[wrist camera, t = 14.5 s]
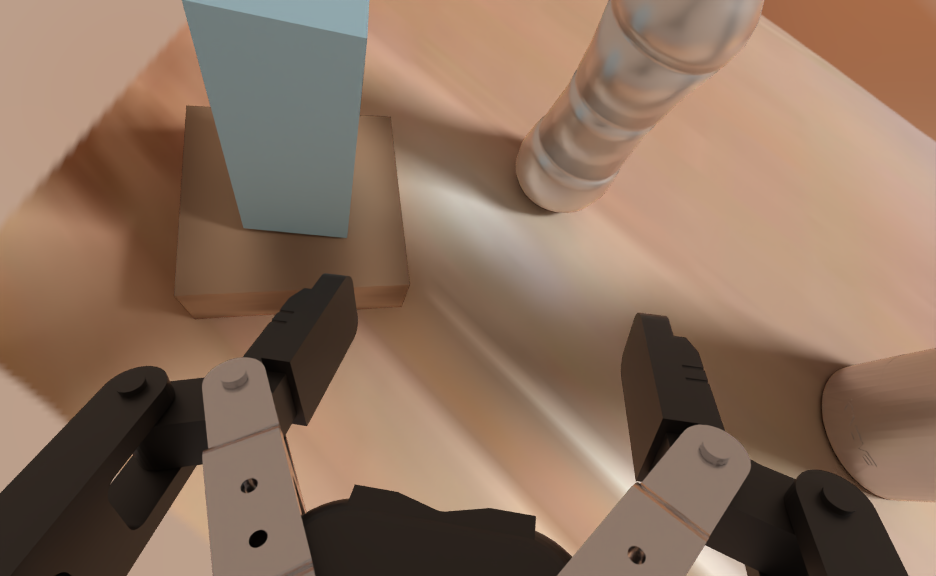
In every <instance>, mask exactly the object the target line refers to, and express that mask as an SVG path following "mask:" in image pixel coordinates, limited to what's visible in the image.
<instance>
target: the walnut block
mask: <svg viewBox="0 0 936 576" xmlns="http://www.w3.org/2000/svg"><path fill="white" fill-rule="evenodd" d="M324 273H328V274H337V275H345V276H350V277H351V278H352V280H353V286H354V293H355V301H356V308H357V309H369V308H385V307H401V306H402V304H403V301H404V299H405V296H406V293H407V291H408V288H409V285H410V282H409V274H408V265H407V256H406V248H405V239H404V230H403V222H402V213H401V204H400V196H399V187H398V178H397V169H396V161H395V152H394V143H393V135H392V126H391V117H385V116H367V115H359V125H358V135H357V145H356V155H355V165H354V175H353V185H352V194H351V204H350V214H349V224H348V234H347V238H341V237H330V236H320V235H310V234H299V233H289V232H278V231H268V230H257V229H247V228H243V225H242V221H241V217H240V213H239V210H238V206H237V202H236V199H235V195H234V191H233V188H232V184H231V180H230V176H229V173H228V169H227V165H226V162H225V158H224V154H223V151H222V147H221V143H220V139H219V136H218V132H217V128H216V125H215V121H214V117H213V114H212V110H211V107H203V106H186V119H185V135H184V150H183V166H182V181H181V197H180V212H179V227H178V243H177V258H176V274H175V289H174V296H175V298H176V299H177V300H178V301H179V302H180V303H181V304H182V305H183V306H184V308H185V309H186V310H187V311H188V312H189V313H190V314H191V315H192V316H193V318H194V319H203V318H220V317H236V316H253V315H270V314H277V313H278V312H280V309H281V307H282V306H283V305H284V304H285V302H286V301H287V300H288V299H289V297H291V296H293V295H294V294H296V293H297V292H299V291H300V290H302V289H303V288H309V289H312V287H313V286H314V285H315V283H316V282H317V281H318V279H319V278H320V277H321V275H322V274H324Z"/></svg>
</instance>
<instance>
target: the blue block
mask: <svg viewBox="0 0 936 576" xmlns="http://www.w3.org/2000/svg"><path fill="white" fill-rule="evenodd" d="M182 2H183V6H184V10H185V14H186V17H187V21H188V25H189V29H190V32H191V36H192V40H193V43H194V47H195V51H196V54H197V58H198V62H199V66H200V69H201V73H202V77H203V80H204V84H205V88H206V91H207V95H208V99H209V103H210V106H211V110H212V114H213V117H214V121H215V125H216V128H217V132H218V136H219V139H220V143H221V147H222V151H223V154H224V158H225V162H226V165H227V169H228V173H229V176H230V180H231V184H232V188H233V191H234V195H235V199H236V202H237V206H238V210H239V213H240V217H241V221H242V225H243V228H247V229H257V230H268V231H278V232H289V233H299V234H310V235H320V236H330V237H341V238H347V234H348V224H349V214H350V204H351V194H352V185H353V175H354V165H355V155H356V145H357V135H358V125H359V115H360V105H361V95H362V85H363V75H364V65H365V55H366V45H367V32H368V14H369V0H182Z"/></svg>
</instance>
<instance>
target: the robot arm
mask: <svg viewBox="0 0 936 576" xmlns="http://www.w3.org/2000/svg"><path fill="white" fill-rule="evenodd" d="M357 325H358V315H357V308H356V301H355V293H354V286H353V280H352V278H351V277H350V276H345V275H337V274H328V273H324V274H322V275H321V277H320V278H319V279H318V281H317V282H316V283H315V285H314V286H313V287H312V289H309V288H303V289H302V290H300V291H299V292H297V293H296V294H294V295H293V296H291V297H289V299H288V300H287V301H286V302H285V304H284V305H283V306H282V307H281V309H280V312H278V313H277V314H276V315H275V316H274V318H273V319H272V322H270V323H269V324H268V325H267V327H266V328H265V329H264V330H263V332H262V333H261V334H260V336H259V337H258V338H257V339H256V341H255V342H254V343H253V345H252V346H251V347H250V348H249V350H248V351H247V352H246V353H245V355H244V356H243V357H241V358H235V359H231V360H228V361H225V362H223V363H221V364H219V365H217V366H216V367H214V368H213V369H212V370H211V371H210V372H209V373H208V374H207V375H206V376H205V378H197V379H188V380H178V381H170V380H169V378H168V376H167V374H166V372H165V371H164V370H162V369H161V368H158V367H154V366H143V367H137V368H133V369H130V370H128V371H125V372H123V373H121V374H119V375H117V376H115V377H114V378H112V379H111V380H110V381H108V382H107V383H106V384H105V385H104V386H103V387H102V388H101V389H100V390H99V391H98V392H97V393H96V394H95V396H94V397H93V398H92V399H91V400H90V401H89V402H88V403H87V404H86V405H85V406H84V407H83V408H82V409H81V410H80V411H79V412H78V413H77V414H76V415H75V416H74V417H73V418H72V419H71V420H70V421H69V422H68V424H67V425H66V426H65V427H64V428H63V429H62V430H61V431H60V432H59V433H58V434H57V435H56V436H55V437H54V438H53V439H52V440H51V441H50V442H49V443H48V444H47V445H46V446H45V447H44V448H43V449H42V450H41V452H40V453H39V454H38V455H37V456H36V457H35V458H34V459H33V460H32V461H31V462H30V463H29V464H28V465H27V466H26V467H25V468H24V469H23V470H22V471H21V472H20V473H19V475H17V477H15V478H14V480H13V481H12V482H11V483H10V484H9V485H8V486H7V487H6V488H5V489H4V490H3V491H2V492H1V493H0V576H127V574H128V572H129V571H130V569H131V568H132V566H133V564H134V563H135V562H136V560H137V558H138V557H139V555H140V554H141V552H142V551H143V549H144V547H145V546H146V544H147V542H148V541H149V540H150V538H151V536H152V535H153V533H154V532H155V530H156V529H157V527H158V525H159V524H160V522H161V521H162V519H163V518H164V516H165V514H166V513H167V511H168V510H169V508H170V507H171V505H172V503H173V502H174V500H175V499H176V497H177V496H178V494H179V492H180V491H181V489H182V488H183V486H184V485H185V483H186V481H187V480H188V478H189V477H190V475H191V474H192V472H193V470H194V469H195V467H196V466H197V465H201V464H203V472H204V483H205V494H206V505H207V516H208V527H209V539H210V549H211V560H212V572H213V576H686V574H687V573H688V571H689V570H690V568H691V566H692V565H693V563H694V562H695V560H696V558H697V557H698V555H699V554H700V552H701V550H702V549H703V547H704V546H705V545H706V546H708V547H710V548H712V549H714V550H716V551H718V552H720V553H722V554H725V555H727V556H729V557H731V558H733V559H735V560H737V561H739V562H741V563H743V564H745V567H746V571H747V575H748V576H908V574H907V572H906V570H905V568H904V566H903V564H902V562H901V560H900V558H899V556H898V554H897V552H896V549H895V547H894V545H893V543H892V541H891V539H890V537H889V535H888V533H887V531H886V529H885V527H884V525H883V523H882V521H881V519H880V517H879V515H878V513H877V511H876V509H875V508H874V506H873V504H872V503H871V502H870V500H869V499H868V498H867V497H866V496H865V495H864V494H863V492H861V491H860V490H859V489H858V488H857V487H856V486H854V485H853V484H851V483H850V482H848V481H847V480H845V479H843V478H842V477H839V476H837V475H835V474H833V473H830V472H826V471H822V470H808V471H805V472H802V473H801V474H800V475H799V476H798V477H797V478H796V479H793V478H791V477H789V476H786V475H784V474H781V473H779V472H776V471H774V470H772V469H769V468H767V467H764V466H762V465H760V464H758V463H756V462H754V461H753V460H751V459H750V458H749V455H748V453H747V451H746V450H745V448H744V447H743V445H742V444H741V443H740V442H739V441H738V440H737V439H735V438H734V437H733V436H732V435H730V434H729V433H727V432H725V430H724V427H723V424H722V421H721V418H720V415H719V412H718V409H717V406H716V403H715V400H714V397H713V394H712V391H711V388H710V385H709V384H708V383H707V382H708V379H707V377H706V374H705V371H703V365H702V362H701V359H700V356H699V353H698V351H697V350H696V349H695V348H694V347H693V346H692V344H691V343H690V342H689V341H688V340H687V339H686V338H684V337H677V336H673V333H672V329H671V326H670V323H669V319H668V317H667V316H661V315H653V314H644V313H637V314H636V316H635V318H634V321H633V324H632V327H631V331H630V334H629V337H628V340H627V343H626V346H625V350H624V353H623V357H622V363H621V378H622V385H623V392H624V400H625V407H626V414H627V421H628V428H629V435H630V443H631V450H632V457H633V464H634V471H635V479H636V481H640V482H641V483H640V484H639V483H638V482H637V483H635V484H634V485H633V486H632V487H631V488H630V489H629V490H628V491H627V493H626V494H625V495H624V496H623V497H622V499H621V500H620V501H619V502H618V503H617V505H616V506H615V507H614V508H613V509H612V511H611V512H610V513H609V514H608V515H607V517H606V518H605V519H604V520H603V521H602V523H601V524H600V525H599V526H598V527H597V529H596V530H595V531H594V532H593V533H592V534H591V536H590V537H589V538H588V539H587V540H586V542H585V543H584V544H583V545H582V546H581V548H580V549H579V550H578V551H577V552H576V554H575V555H574V556H573V557H572V556H571V555H570V554H569V553H568V552H567V551H566V550H565V549H563V548H562V547H561V546H560V545H558V544H557V543H556V542H555V541H553V540H551V539H550V538H548V537H547V536H545V535H543V534H541V533H539V532H537V531H535V523H536V516H532V515H526V514H520V513H515V512H509V511H503V510H498V509H492V508H486V509H473V510H461V511H448V512H442V511H438V510H435V509H433V508H431V507H429V506H427V505H424V504H422V503H420V502H418V501H416V500H414V499H412V498H409V497H407V496H405V495H403V494H401V493H399V492H394V491H389V490H383V489H377V488H372V487H366V486H360V485H355V486H354V488H353V491H352V493H351V496H350V498H349V499H342V500H337V501H332V502H329V503H326V504H323V505H321V506H318V507H316V508H314V509H312V510H310V511H308V512H307V511H306V508H305V505H304V501H303V497H302V494H301V490H300V486H299V482H298V479H297V475H296V471H295V467H294V463H293V459H292V456H291V452H290V448H289V444H288V440H287V437H286V433H287V431H288V430H289V428H290V426H291V424H297V425H303V426H307V425H308V423H309V421H310V420H311V418H312V416H313V414H314V412H315V410H316V408H317V407H318V405H319V403H320V401H321V399H322V397H323V395H324V393H325V392H326V390H327V388H328V386H329V384H330V382H331V380H332V378H333V377H334V375H335V373H336V371H337V369H338V367H339V365H340V364H341V362H342V360H343V358H344V356H345V354H346V352H347V350H348V349H349V347H350V345H351V343H352V341H353V339H354V337H355V334H356V331H357ZM822 414H823V422H824V426H825V429H826V433H827V436H828V439H829V441H830V443H831V446H832V448H833V450H834V452H835V454H836V455H837V457H838V459H839V460H840V462H841V464H842V465H843V466H844V467H845V469H846V470H847V471H848V472H849V474H850V475H851V476H852V477H853V478H854V479H855V480H856V481H857V482H858V483H859V484H861V485H862V486H863V487H864V488H866V489H867V490H869V491H870V492H872V493H873V494H875V495H877V496H880V497H882V498H885V499H889V500H897V501H919V502H936V348H933V349H929V350H924V351H919V352H914V353H910V354H904V355H899V356H894V357H890V358H885V359H880V360H876V361H871V362H866V363H862V364H857V365H852V366H848V367H845V368H842V369H839V370H838V371H836V372H835V373H834V374H833V375H832V376H831V377H830V378H829V380H828V382H827V383H826V386H825V389H824V392H823V397H822ZM132 454H133V456H132V457H131V459H130V460H129V461H128V462H127V464H126V465H125V466H124V468H123V469H122V470H121V471H120V473H119V474H118V475H117V477H116V478H115V479H114V481H113V482H112V480H113V478H114V477H115V476H116V474H117V473H118V472H119V470H120V469H121V468H122V467H123V465H124V464H125V463H126V461H127V460H128V459H129V458H130V456H131V455H132ZM111 482H112V483H111Z"/></svg>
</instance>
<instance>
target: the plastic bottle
mask: <svg viewBox="0 0 936 576" xmlns="http://www.w3.org/2000/svg"><path fill="white" fill-rule="evenodd" d="M763 3H764V0H609V1H608V3H607V5H606V8H605V10H604V12H603V15H602V17H601V20H600V22H599V24H598V27H597V29H596V32H595V34H594V36H593V39H592V41H591V43H590V45H589V47H588V49H587V50H586V52H585V54H584V56H583V58H582V60H581V62H580V64H579V66H578V69H577V70H576V71H575V73H574V75H573V77H572V79H571V80H570V82H569V84H568V86H567V87H566V88H565V90H564V91H563V92H562V94H561V95H560V96H559V98H558V99H557V101H556V102H555V103H554V105H553V106H552V107H551V109H550V110H549V111H548V113H547V114H546V115H545V116H544V117H542V118H541V119H540V120H539V121H538V122H537V123H536V124H535V126H534V127H533V128H532V129H531V130H530V132H529V133H528V134H527V135H526V137H525V138H524V139H523V141H522V144H521V146H520V149H519V153H518V156H517V159H516V166H515V168H516V175H517V178H518V181H519V183H520V186H521V188H522V190H523V191H524V193H525V194H526V195H527V197H528V198H529V199H530V200H532V201H533V202H534V203H535V204H537V205H538V206H540V207H542V208H544V209H546V210H549V211H553V212H563V213H570V212H577V211H580V210H582V209H584V208H586V207H588V206H589V205H591V204H592V203H594V202H595V201H597V200H598V199H600V198H601V197H602V196H603V195H604V194H605V192H606V191H607V189H608V188H609V187H610V185H611V184H612V182H613V181H614V179H615V177H616V175H617V173H618V172H619V170H620V168H621V166H622V165H623V163H624V162H625V161H626V160H627V158H628V157H629V156H630V154H631V153H632V152H633V150H634V149H635V148H636V147H637V145H638V144H639V143H640V141H641V140H642V139H643V137H644V136H645V135H646V134H647V133H648V132H649V131H650V130H651V129H652V128H653V127H654V126H655V125H656V124H657V123H658V122H659V121H660V120H661V119H662V118H663V117H664V116H666V115H667V114H668V113H669V112H670V111H671V110H672V109H673V108H674V107H675V106H676V105H677V104H678V103H679V102H681V101H682V100H683V99H684V98H686V97H687V96H688V95H689V94H690V93H692V92H693V91H694V90H695V89H697V88H698V87H699V86H700V85H702V84H703V83H704V82H705V81H707V80H708V79H709V78H710V77H712V76H713V75H714V74H715V73H716V72H718V71H719V70H720V69H721V68H722V67H724V66H725V65H726V64H727V63H728V62H729V61H730V60H731V59H733V58H734V57H735V56H736V55H737V54H738V53H739V52H740V51H741V50H742V49H743V48H744V47H745V46H746V44H747V42H748V40H749V39H750V37H751V35H752V33H753V32H754V30H755V28H756V26H757V24H758V22H759V19H760V15H761V11H762V7H763Z"/></svg>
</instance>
